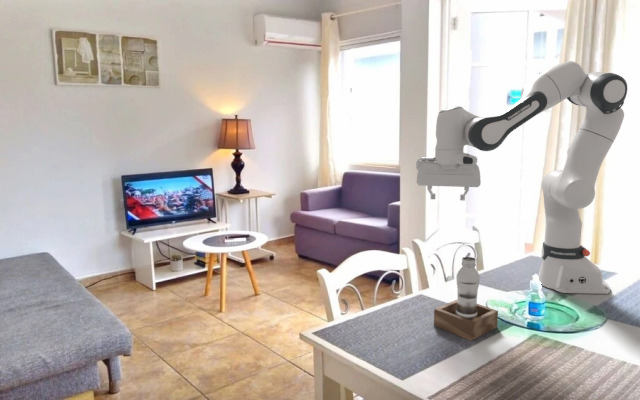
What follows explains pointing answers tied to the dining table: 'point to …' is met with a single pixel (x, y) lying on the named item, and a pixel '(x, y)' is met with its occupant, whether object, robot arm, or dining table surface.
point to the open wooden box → (465, 321)
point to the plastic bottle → (467, 289)
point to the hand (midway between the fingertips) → (447, 199)
